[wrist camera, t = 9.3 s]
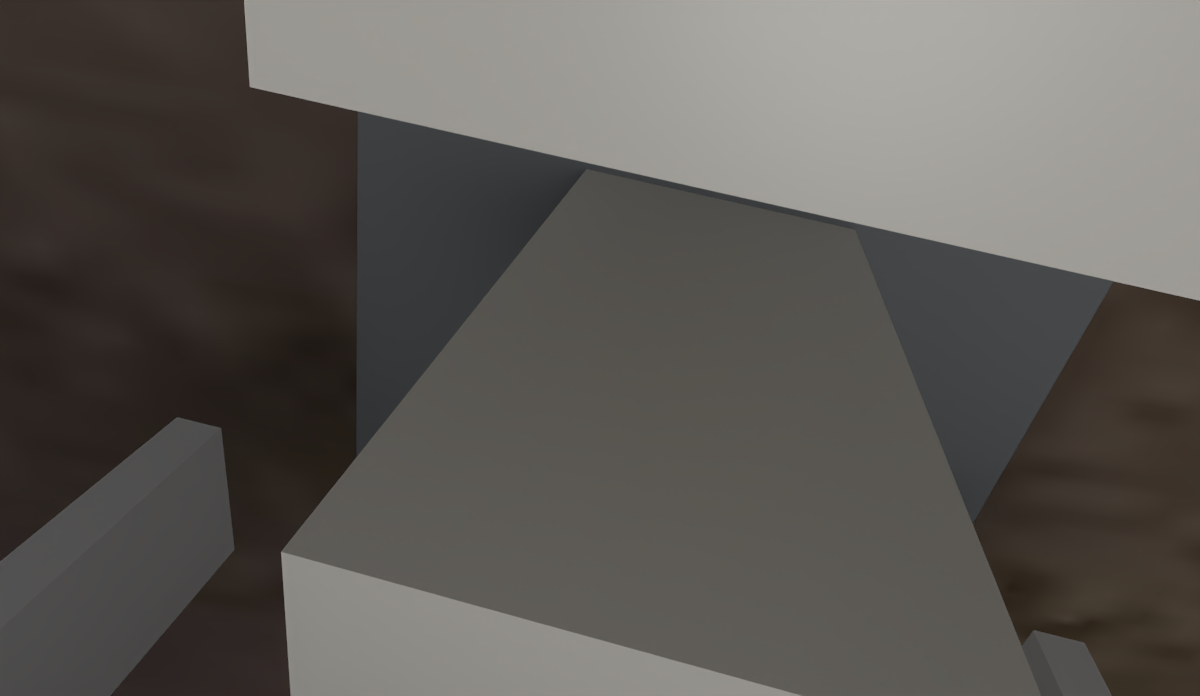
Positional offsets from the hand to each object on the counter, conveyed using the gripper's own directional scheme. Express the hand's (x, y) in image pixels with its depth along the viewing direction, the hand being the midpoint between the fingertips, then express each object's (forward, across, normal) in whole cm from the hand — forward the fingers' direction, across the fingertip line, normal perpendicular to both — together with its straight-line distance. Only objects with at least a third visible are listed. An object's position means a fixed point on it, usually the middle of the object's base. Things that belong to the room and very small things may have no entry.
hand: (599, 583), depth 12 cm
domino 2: (+5, 0, +5) cm, 7 cm away
